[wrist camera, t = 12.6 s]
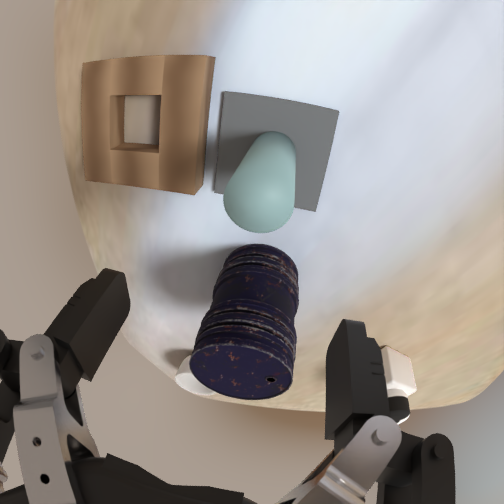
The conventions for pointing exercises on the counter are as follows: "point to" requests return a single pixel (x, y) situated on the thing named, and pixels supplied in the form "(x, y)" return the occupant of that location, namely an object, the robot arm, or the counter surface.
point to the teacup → (190, 380)
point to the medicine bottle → (398, 383)
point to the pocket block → (171, 121)
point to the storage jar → (250, 326)
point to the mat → (281, 120)
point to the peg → (263, 185)
